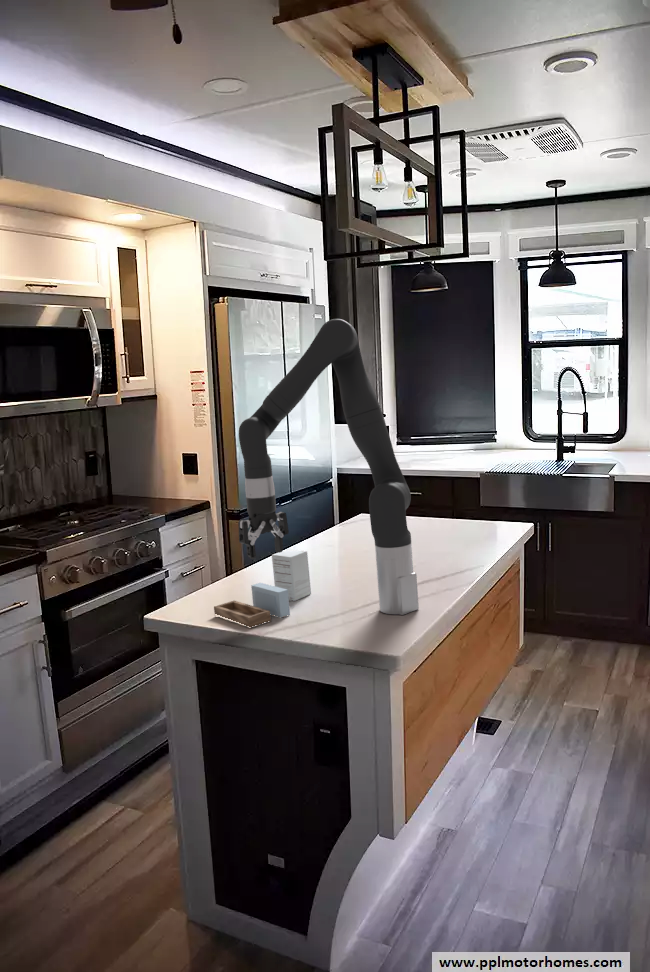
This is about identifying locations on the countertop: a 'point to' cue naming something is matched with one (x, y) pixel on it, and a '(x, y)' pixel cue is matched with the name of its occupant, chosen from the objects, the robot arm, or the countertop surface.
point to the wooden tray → (243, 613)
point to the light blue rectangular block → (271, 599)
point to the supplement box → (292, 573)
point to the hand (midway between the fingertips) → (266, 555)
